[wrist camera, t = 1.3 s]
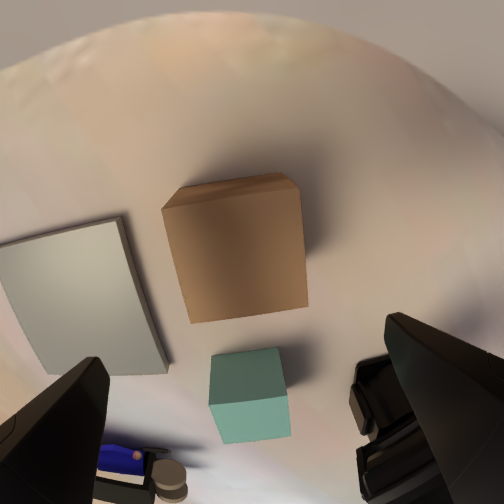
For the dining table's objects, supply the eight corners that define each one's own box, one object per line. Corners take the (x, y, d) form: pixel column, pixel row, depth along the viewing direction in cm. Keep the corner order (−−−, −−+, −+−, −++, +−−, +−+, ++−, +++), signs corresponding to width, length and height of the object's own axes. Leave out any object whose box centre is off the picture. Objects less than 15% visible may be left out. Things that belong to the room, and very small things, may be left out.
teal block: (277, 346, 22) (287, 395, 18) (282, 389, 24) (291, 435, 20) (211, 355, 22) (208, 405, 18) (224, 397, 24) (224, 443, 20)
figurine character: (185, 432, 28) (53, 416, 25) (188, 493, 21) (38, 470, 18) (185, 460, 31) (69, 446, 28) (189, 512, 24) (60, 495, 21)
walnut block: (281, 171, 18) (299, 187, 13) (291, 265, 20) (308, 306, 15) (179, 187, 18) (161, 209, 13) (199, 278, 20) (190, 323, 15)
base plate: (121, 216, 18) (115, 221, 17) (169, 365, 22) (167, 373, 21) (-4, 246, 18) (-11, 251, 17) (51, 367, 22) (47, 374, 21)
